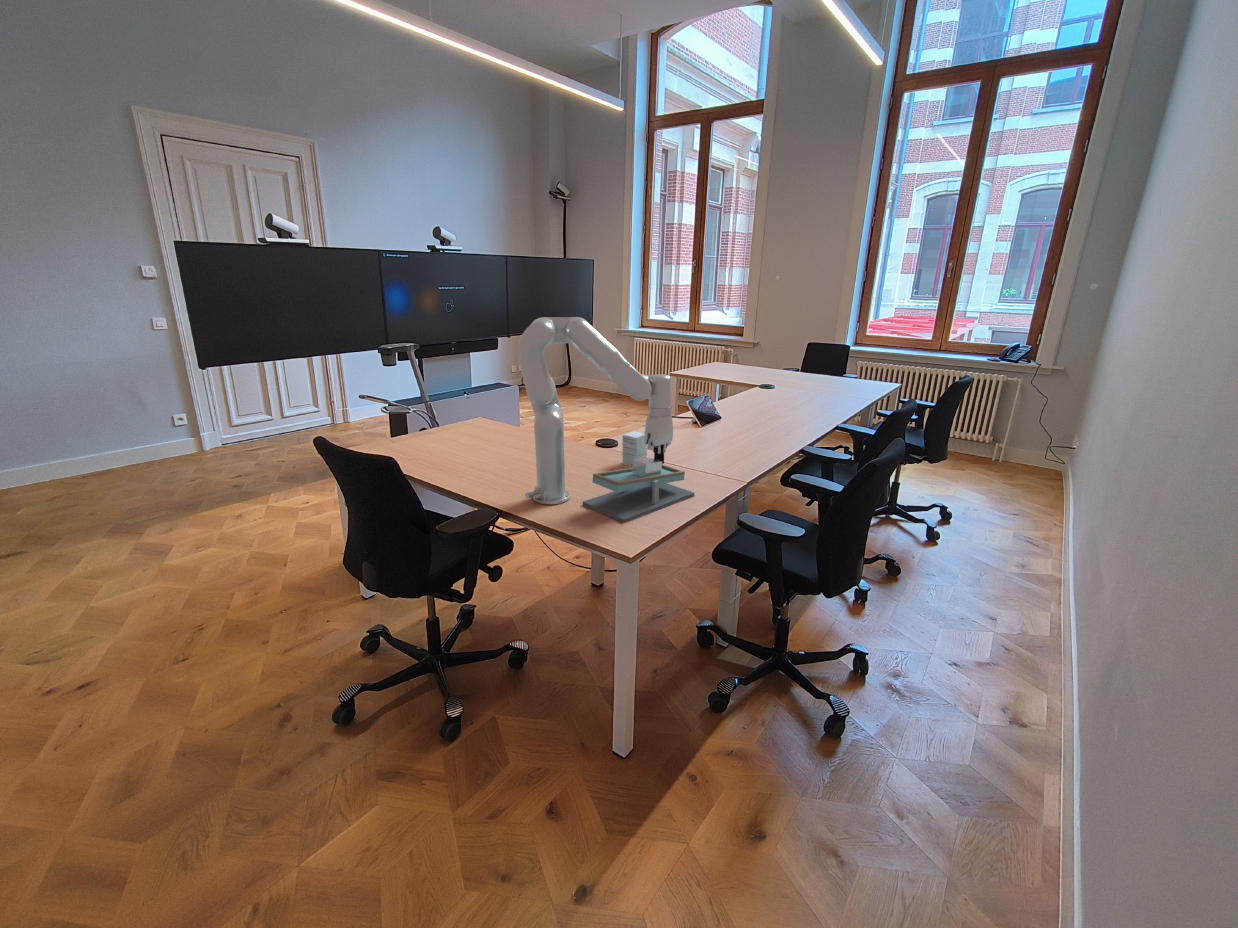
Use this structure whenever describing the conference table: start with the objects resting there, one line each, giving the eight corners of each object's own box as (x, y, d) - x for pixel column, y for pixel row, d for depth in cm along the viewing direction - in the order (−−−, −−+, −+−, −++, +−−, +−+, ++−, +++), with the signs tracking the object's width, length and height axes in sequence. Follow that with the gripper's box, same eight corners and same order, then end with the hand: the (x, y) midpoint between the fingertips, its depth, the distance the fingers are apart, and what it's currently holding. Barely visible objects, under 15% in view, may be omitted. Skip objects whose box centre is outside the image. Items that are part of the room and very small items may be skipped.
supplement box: (632, 459, 235) (633, 430, 231) (647, 463, 231) (647, 433, 227) (621, 464, 230) (621, 434, 226) (636, 467, 225) (636, 437, 221)
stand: (623, 522, 174) (624, 495, 171) (582, 504, 188) (582, 479, 185) (694, 495, 196) (695, 471, 193) (652, 481, 210) (653, 458, 207)
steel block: (644, 478, 186) (646, 463, 184) (631, 474, 190) (633, 459, 189) (660, 475, 191) (662, 461, 190) (648, 471, 195) (649, 457, 194)
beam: (617, 492, 174) (618, 483, 174) (592, 482, 183) (593, 473, 182) (683, 479, 196) (684, 471, 195) (658, 471, 204) (659, 463, 204)
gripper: (666, 406, 196) (665, 456, 201) (636, 413, 186) (636, 465, 192) (682, 410, 190) (681, 461, 196) (652, 417, 181) (652, 470, 186)
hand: (659, 463), depth 194 cm, fingers closed
